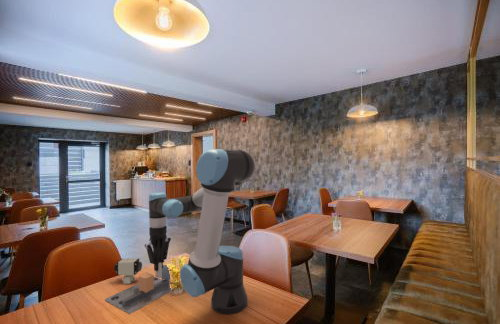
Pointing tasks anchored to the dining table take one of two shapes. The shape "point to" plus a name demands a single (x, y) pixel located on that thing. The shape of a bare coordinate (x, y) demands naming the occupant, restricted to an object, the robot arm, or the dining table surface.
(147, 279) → the tan rectangular block
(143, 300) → the bolt plate
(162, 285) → the beam with fixed leg
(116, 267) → the pneumatic valve
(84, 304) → the dining table surface
